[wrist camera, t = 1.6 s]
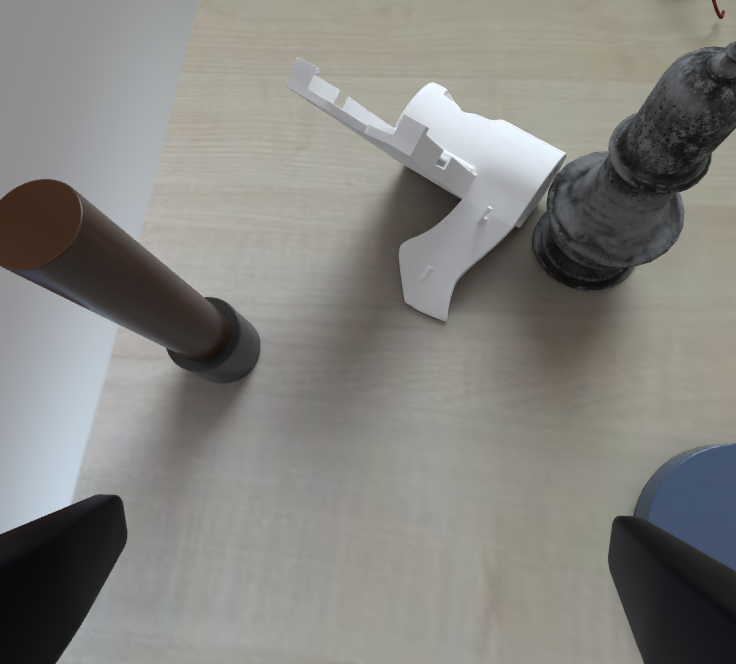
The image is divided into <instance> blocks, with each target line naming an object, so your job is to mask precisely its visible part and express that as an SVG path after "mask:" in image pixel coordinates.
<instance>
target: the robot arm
mask: <svg viewBox="0 0 736 664" xmlns="http://www.w3.org/2000/svg"><path fill="white" fill-rule="evenodd" d="M126 541H127V526H126V519H125V513H124V506H123V501H122V499H121V498H120V497H119V496H117V495H103V494H99V495H95V496H92V497H90V498H87V499H85V500H82V501H80V502H77V503H75V504H73V505H70V506H68V507H65V508H63V509H61V510H58V511H56V512H53V513H51V514H48V515H46V516H44V517H41V518H39V519H36V520H34V521H31V522H29V523H27V524H24V525H22V526H19V527H17V528H14V529H12V530H10V531H7V532H5V533H2V534H0V664H56V662H57V661H58V659H59V658H60V656H61V655H62V653H63V652H64V651H65V649H66V648H67V646H68V645H69V643H70V642H71V640H72V638H73V637H74V635H75V634H76V632H77V631H78V629H79V627H80V626H81V624H82V622H83V621H84V619H85V617H86V616H87V614H88V612H89V610H90V609H91V607H92V605H93V603H94V601H95V600H96V598H97V596H98V594H99V592H100V590H101V589H102V587H103V585H104V583H105V581H106V580H107V578H108V576H109V574H110V572H111V571H112V569H113V567H114V565H115V563H116V562H117V560H118V558H119V556H120V554H121V552H122V551H123V549H124V547H125V544H126ZM608 563H609V569H610V572H611V575H612V578H613V581H614V583H615V586H616V589H617V592H618V594H619V597H620V600H621V602H622V605H623V608H624V611H625V613H626V616H627V619H628V622H629V624H630V627H631V630H632V632H633V635H634V638H635V641H636V643H637V646H638V649H639V651H640V654H641V656H642V659H643V661H644V664H736V571H734V570H733V569H731V568H729V567H727V566H726V565H724V564H722V563H720V562H719V561H717V560H715V559H714V558H712V557H710V556H708V555H707V554H705V553H703V552H701V551H700V550H698V549H696V548H694V547H693V546H691V545H689V544H687V543H686V542H684V541H682V540H680V539H679V538H677V537H675V536H673V535H672V534H670V533H668V532H667V531H665V530H663V529H661V528H660V527H658V526H656V525H654V524H653V523H651V522H649V521H647V520H646V519H644V518H642V517H637V516H617V517H616V518H614V521H613V523H612V530H611V538H610V546H609V554H608Z"/></svg>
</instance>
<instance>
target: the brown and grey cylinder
mask: <svg viewBox="0 0 736 664" xmlns="http://www.w3.org/2000/svg"><path fill="white" fill-rule="evenodd" d="M0 266H1V267H3V268H5V269H7V270H9V271H11V272H14V273H15V274H17V275H19V276H21V277H23V278H25V279H27V280H30V281H32V282H34V283H36V284H38V285H40V286H42V287H44V288H46V289H48V290H50V291H52V292H54V293H56V294H58V295H60V296H62V297H64V298H66V299H68V300H70V301H72V302H74V303H76V304H78V305H80V306H82V307H84V308H86V309H88V310H90V311H92V312H95V313H97V314H99V315H101V316H103V317H105V318H107V319H109V320H111V321H113V322H115V323H117V324H119V325H121V326H123V327H125V328H127V329H129V330H131V331H133V332H135V333H137V334H139V335H141V336H143V337H145V338H147V339H149V340H151V341H153V342H155V343H158V344H160V345H162V346H164V347H166V349H167V351H168V354H169V356H170V358H171V359H172V360H173V362H175V363H176V364H177V365H178V366H179V367H181V368H183V369H185V370H187V371H189V372H192V373H194V374H196V375H199V376H201V377H203V378H205V379H208V380H210V381H213V382H217V383H229V382H233V381H236V380H238V379H240V378H242V377H244V376H245V375H246V374H247V373H249V372H250V370H251V369H252V368H253V367H254V365H255V364H256V362H257V359H258V357H259V353H260V339H259V335H258V333H257V331H256V330H255V328H254V327H253V326H252V325H251V324H250V323H249V322H248V321H247V320H246V319H245V318H244V317H243V316H242V315H240V314H239V313H238V312H237V311H236V310H235V309H234V308H233V307H232V306H231V305H229V304H228V303H227V302H225V301H223V300H221V299H218V298H212V297H203V296H202V295H201V294H199V293H198V292H197V291H196V290H195V289H193V288H192V287H191V286H190V285H189V284H187V283H186V282H185V281H184V280H183V279H181V278H180V277H179V276H178V275H176V274H175V273H174V272H173V271H172V270H170V269H169V268H168V267H167V266H166V265H164V264H163V263H162V262H161V261H160V260H158V259H157V258H156V257H155V256H154V255H152V254H151V253H150V252H149V251H148V250H146V249H145V248H144V247H143V246H142V245H140V244H139V243H138V242H137V241H136V240H134V239H133V238H132V237H131V236H129V235H128V234H127V233H126V232H125V231H124V230H122V229H121V228H120V227H119V226H118V225H116V224H115V223H114V222H113V221H112V220H110V219H109V218H108V217H107V216H105V215H104V214H103V213H102V212H101V211H100V210H98V209H97V208H96V207H95V206H94V205H92V204H91V203H90V202H89V201H88V200H86V199H85V198H84V197H83V196H81V195H80V194H79V193H78V192H77V191H75V190H74V189H73V188H72V187H70V186H69V185H67V184H66V183H63V182H60V181H57V180H51V179H41V180H34V181H30V182H27V183H24V184H23V185H20V186H18V187H16V188H15V189H13V190H12V191H10V192H9V193H8V194H6V195H5V196H4V197H3V198H2V199H1V200H0Z"/></svg>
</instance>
